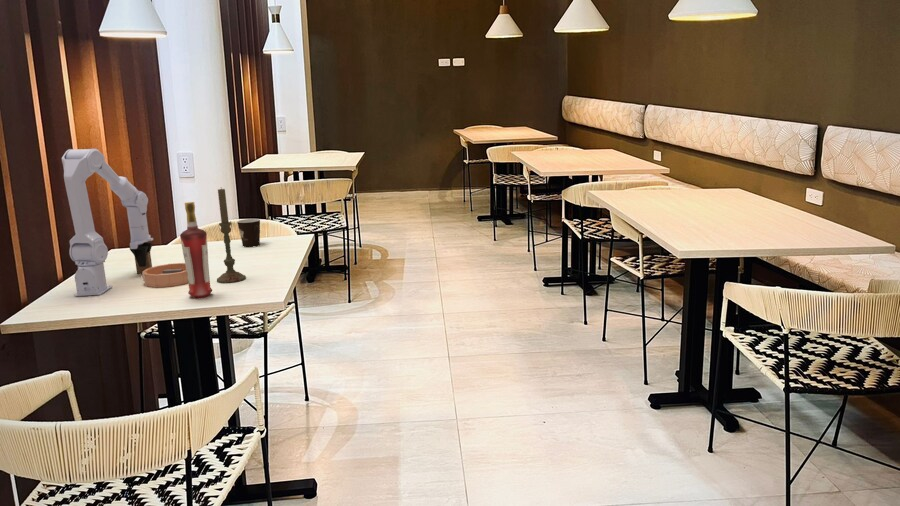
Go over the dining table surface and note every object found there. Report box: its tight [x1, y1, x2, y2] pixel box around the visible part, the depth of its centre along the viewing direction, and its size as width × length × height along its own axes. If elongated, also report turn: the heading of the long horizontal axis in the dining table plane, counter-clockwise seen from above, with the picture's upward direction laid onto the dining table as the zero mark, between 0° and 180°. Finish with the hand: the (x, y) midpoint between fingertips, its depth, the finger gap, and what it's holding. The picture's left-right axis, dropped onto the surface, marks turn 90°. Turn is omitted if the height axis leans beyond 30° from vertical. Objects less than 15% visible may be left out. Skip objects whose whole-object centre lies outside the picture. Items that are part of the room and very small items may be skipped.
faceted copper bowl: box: [141, 262, 188, 288], centre depth 236 cm, size 16×16×4 cm
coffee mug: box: [237, 218, 261, 248], centre depth 285 cm, size 12×9×10 cm
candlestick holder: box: [216, 187, 247, 284], centre depth 231 cm, size 9×9×30 cm
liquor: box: [179, 201, 213, 299], centre depth 213 cm, size 7×7×28 cm
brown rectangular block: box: [134, 251, 153, 275], centre depth 248 cm, size 2×4×7 cm, turn 94°
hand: (143, 265), depth 248 cm, fingers closed on brown rectangular block, 2 cm apart
